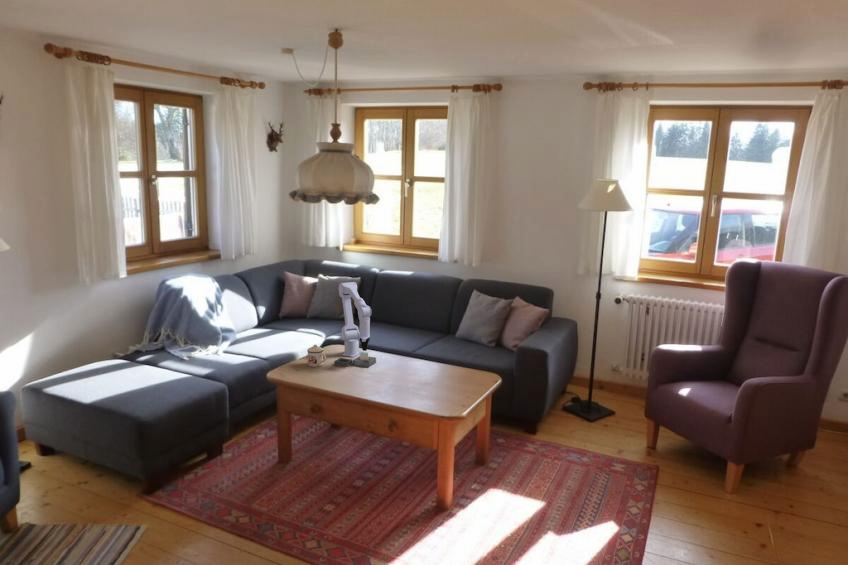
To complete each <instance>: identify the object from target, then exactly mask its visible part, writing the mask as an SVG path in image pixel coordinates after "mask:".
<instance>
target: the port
mask: <svg viewBox="0 0 848 565" xmlns="http://www.w3.org/2000/svg"><path fill="white" fill-rule="evenodd" d="M376 363H377V357H376V356H375V357H374V356H368V361H366V360H360V355H358V357H356V358H354V359H353V364H352V366H356V367H362V368H368V369H369V368H370V367H371V366H373V365H375V364H376Z"/></svg>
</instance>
